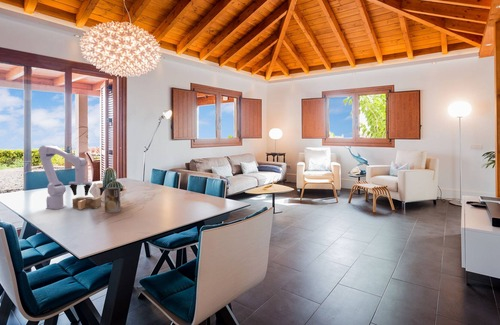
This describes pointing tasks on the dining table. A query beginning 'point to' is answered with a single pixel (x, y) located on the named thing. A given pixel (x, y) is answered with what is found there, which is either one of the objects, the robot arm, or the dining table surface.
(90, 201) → the wooden block
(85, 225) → the dining table surface
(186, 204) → the dining table surface
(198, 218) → the dining table surface
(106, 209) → the coffee box
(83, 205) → the tall wooden plank
